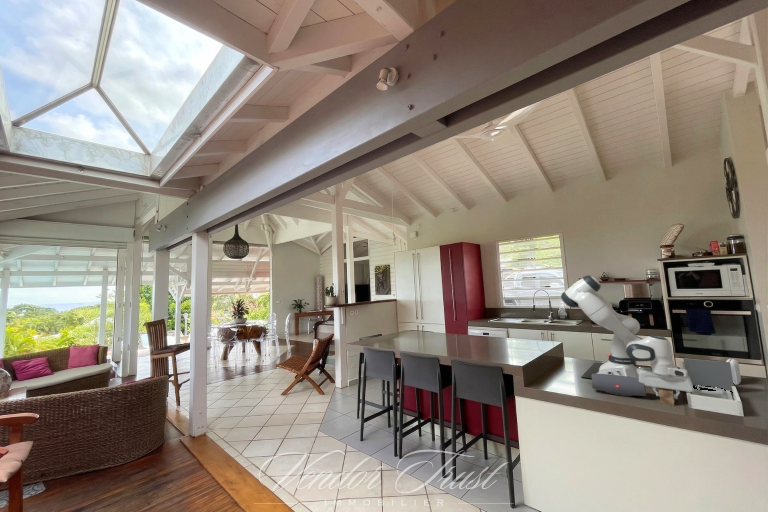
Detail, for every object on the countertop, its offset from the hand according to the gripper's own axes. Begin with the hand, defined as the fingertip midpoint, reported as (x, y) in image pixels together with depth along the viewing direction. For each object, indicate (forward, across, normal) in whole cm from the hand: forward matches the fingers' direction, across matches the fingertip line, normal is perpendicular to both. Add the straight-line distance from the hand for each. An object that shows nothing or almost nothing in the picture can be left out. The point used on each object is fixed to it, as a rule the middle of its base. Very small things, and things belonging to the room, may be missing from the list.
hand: (667, 397), depth 154 cm
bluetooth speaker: (+3, -19, 0) cm, 20 cm away
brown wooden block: (+2, 0, 0) cm, 2 cm away
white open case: (+2, +16, +18) cm, 24 cm away
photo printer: (+3, +26, +46) cm, 53 cm away
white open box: (+2, +16, +8) cm, 18 cm away
